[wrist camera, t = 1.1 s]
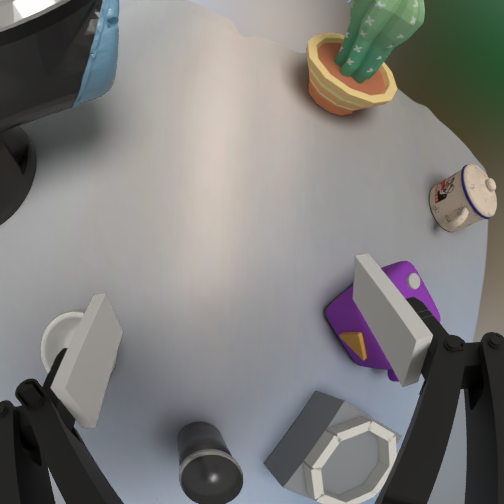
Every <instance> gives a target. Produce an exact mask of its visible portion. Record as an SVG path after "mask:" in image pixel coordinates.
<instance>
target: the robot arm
mask: <svg viewBox="0 0 504 504" xmlns="http://www.w3.org/2000/svg"><path fill="white" fill-rule="evenodd" d="M118 16H119V0H0V224H2V223H3V222H4V221H6V220H7V219H8V218H9V217H10V216H11V215H12V214H13V213H14V212H15V211H16V210H17V209H18V207H19V206H20V205H21V203H22V202H23V200H24V199H25V197H26V195H27V193H28V191H29V189H30V187H31V184H32V182H33V179H34V175H35V170H36V153H35V149H34V146H33V144H32V142H31V141H30V139H29V137H28V136H27V134H26V133H25V132H24V130H23V129H21V128H20V127H19V126H20V125H22V124H25V123H28V122H30V121H33V120H36V119H38V118H41V117H44V116H47V115H50V114H53V113H56V112H59V111H62V110H65V109H68V108H71V109H72V108H74V107H76V106H77V105H78V104H80V103H83V102H86V101H89V100H92V99H95V98H98V97H100V96H102V95H104V94H105V93H106V92H107V91H109V89H110V88H111V87H112V85H113V83H114V80H115V76H116V68H117V57H118V37H119V28H118ZM353 300H354V302H355V304H356V305H357V307H358V309H359V310H360V312H361V314H362V316H363V317H364V319H365V321H366V322H367V324H368V326H369V328H370V329H371V331H372V333H373V335H374V336H375V338H376V340H377V342H378V343H379V345H380V347H381V349H382V351H383V352H384V354H385V356H386V358H387V360H388V361H389V363H390V365H391V367H392V369H393V370H394V372H395V374H396V376H397V378H398V380H399V382H400V383H401V385H402V387H404V386H407V385H410V384H413V383H416V382H418V380H419V377H420V374H422V375H423V377H424V379H425V381H424V383H423V386H422V388H421V391H420V393H419V395H420V396H419V399H418V402H417V405H416V408H415V411H414V414H413V417H412V419H411V422H410V425H409V428H408V430H407V433H406V435H405V438H404V440H403V443H402V445H401V448H400V450H399V453H398V455H397V457H396V460H395V462H394V464H393V467H392V469H391V471H390V473H389V475H388V477H387V480H386V482H385V484H384V486H383V488H382V490H381V492H380V494H379V496H378V498H377V500H376V502H375V504H427V502H428V499H429V497H430V494H431V492H432V489H433V486H434V484H435V481H436V478H437V475H438V472H439V469H440V466H441V463H442V460H443V457H444V454H445V451H446V447H447V443H448V440H449V437H450V433H451V429H452V425H453V421H454V417H455V412H456V408H457V404H458V399H459V394H460V389H464V395H465V409H466V430H467V472H466V492H465V504H504V337H503V336H502V335H500V334H498V333H494V332H490V333H486V334H485V335H484V336H483V337H482V340H481V342H475V343H465V342H464V340H463V339H461V338H460V337H458V336H455V335H449V334H448V333H447V332H446V330H445V329H444V328H443V327H442V325H441V324H440V323H439V322H438V320H437V319H436V318H435V317H434V316H433V314H432V313H431V312H430V310H428V308H427V307H426V306H425V304H424V303H423V302H422V301H420V300H418V299H417V298H415V297H410V298H406V299H405V298H404V297H403V295H402V294H401V293H400V292H399V290H398V289H397V288H396V287H395V285H394V284H393V283H392V282H391V280H390V279H389V278H388V277H387V276H386V274H385V273H384V272H383V271H382V269H381V268H380V267H379V266H378V265H377V263H376V262H375V261H374V260H373V259H372V258H371V256H370V255H369V254H362V255H356V256H355V264H354V285H353ZM122 335H123V331H122V329H121V327H120V325H119V322H118V320H117V318H116V315H115V313H114V311H113V308H112V306H111V304H110V301H109V299H108V296H107V294H106V293H105V294H97V295H94V296H93V298H92V300H91V302H90V304H89V306H88V308H87V310H86V312H85V314H84V316H83V318H82V320H81V322H80V324H79V326H78V328H77V330H76V332H75V334H74V336H73V338H72V340H71V342H70V345H69V347H68V348H63V349H62V350H61V351H60V352H59V353H58V355H57V356H56V358H55V360H54V362H53V365H52V367H51V369H50V371H49V373H48V376H47V378H46V380H45V382H44V385H43V387H41V385H40V384H39V383H38V381H37V380H35V379H27V380H25V381H23V382H22V383H20V385H19V386H18V387H17V389H16V392H15V396H16V398H17V399H18V400H19V401H20V403H21V404H22V406H18V407H14V405H13V404H12V403H11V402H10V401H7V400H5V401H2V402H0V504H55V500H54V495H53V491H52V486H51V482H50V477H49V471H48V468H49V470H50V472H51V474H52V476H53V478H54V480H55V482H56V485H57V486H58V488H59V490H60V492H61V494H62V496H63V498H64V500H65V502H66V504H124V503H123V502H122V501H121V499H120V498H119V496H118V495H117V494H116V492H115V491H114V489H113V488H112V487H111V485H110V484H109V482H108V481H107V479H106V478H105V476H104V475H103V473H102V472H101V470H100V469H99V467H98V465H97V464H96V462H95V461H94V459H93V457H92V456H91V454H90V452H89V451H88V449H87V447H86V446H85V444H84V442H83V440H82V439H81V437H80V435H79V433H78V432H77V430H76V429H75V428H74V427H73V426H74V423H75V420H76V421H77V422H78V424H79V425H80V426H81V427H85V428H96V425H97V421H98V417H99V413H100V409H101V406H102V402H103V398H104V395H105V391H106V387H107V384H108V380H109V377H110V373H111V370H112V367H113V363H114V360H115V357H116V354H117V350H118V347H119V344H120V341H121V338H122ZM47 465H48V466H47Z"/></svg>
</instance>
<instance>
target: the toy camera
mask: <svg viewBox="0 0 504 504" xmlns="http://www.w3.org/2000/svg"><path fill="white" fill-rule="evenodd" d="M381 269H382V271H383V272H384V273H385V274H386V276H387V277H388V278H389V279H390V280H391V282H392V283H393V284H394V285H395V287H396V288H397V289H398V290H399V292H400V293H401V294H402V295H403V297H404V298H405V299H406V298H410V297H415V298H417V299H418V300H420V301H422V302H423V303H424V304H425V306H426V307H427V308H428V310H430V312H431V313H432V314H433V316H434V317H435V318H436V319H437V320H438V322H439V323H440V315H439V312H438V310H437V308H436V306H435V304H434V302H433V300H432V298H431V296H430V294H429V292H428V290H427V288H426V287H425V285H424V283H423V281H422V279H421V278H420V276H419V274H418V272H417V271H416V269H415V268H414V266H413V265H412V264H411V263H410V262H408V261H401V262H397V263H394V264H391V265H388V266H385V267H383V268H381ZM353 285H354V284H353ZM353 285H352V286H351V287H350V288H348V289H347V290H346V291H345V292H344V293H342V294H341V295H340V296H339V297H337V298H336V299H335V300H334V301H333V302H332V303H331V304H330V305H329V306H328V307H327V309H326V317H327V319H328V321H329V323H330V324H331V326H332V327H333V329H334V331H335V332H336V334H337V335H338V337H339V339H340V340H341V342H342V343H343V345H344V346H345V348H346V349H347V351H348V353H349V354H350V356H351V357H352V359H353V360H354V361H355V362H356V363H357V364H358V365H360V366H364V367H370V368H378V369H388V377H389V379H390V380H391V381H399V380H398V378H397V376H396V374H395V372H394V370H393V369H392V367H391V365H390V363H389V361H388V360H387V358H386V356H385V354H384V352H383V351H382V349H381V347H380V345H379V343H378V342H377V340H376V338H375V336H374V335H373V333H372V331H371V329H370V328H369V326H368V324H367V322H366V321H365V319H364V317H363V316H362V314H361V312H360V310H359V309H358V307H357V305H356V304H355V302H354V300H353Z"/></svg>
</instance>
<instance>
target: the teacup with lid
mask: <svg viewBox="0 0 504 504" xmlns="http://www.w3.org/2000/svg"><path fill="white" fill-rule="evenodd" d="M495 189H496V184H495V182H494V180H493V179H491V178H488V176H487V175H486V174H485V172H484V171H483V170H482V169H481V168H479V167H478V166H476V165H473V164H469V165H465V166H464V167H463V169H462V170H460V171H459V172H457V173H455V174H454V175H452V176H450V177H449V178H447V179H445V180H444V181H442V182H441V183H439V184H437V185H436V186H434V187H433V188H432V190H431V192H430V207H431V210H432V213H433V215H434V217H435V219H436V221H437V222H438V223H439V225H440V226H441V227H442V228H444V229H445V230H447V231H450V232H454V231H457V230H459V229H462V228H464V227H467V226H469V225H471V224H474V223H476V222H478V221H481V220H483V219H489V218H491V217H492V216H493V215H494V213H495V211H496V207H497V199H496V194H495V191H494V190H495Z"/></svg>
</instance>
